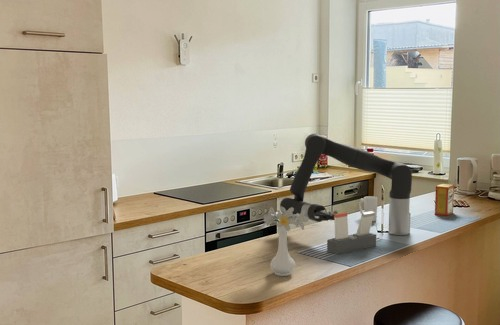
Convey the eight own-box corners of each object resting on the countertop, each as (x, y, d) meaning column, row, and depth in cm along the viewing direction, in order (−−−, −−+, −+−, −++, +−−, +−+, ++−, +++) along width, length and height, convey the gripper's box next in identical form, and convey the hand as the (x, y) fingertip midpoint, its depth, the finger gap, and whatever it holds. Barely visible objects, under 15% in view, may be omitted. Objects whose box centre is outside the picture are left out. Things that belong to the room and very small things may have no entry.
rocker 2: (366, 232, 249) (372, 210, 245) (368, 234, 248) (374, 212, 244) (356, 234, 246) (362, 212, 242) (358, 236, 245) (364, 214, 241)
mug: (379, 219, 296) (379, 197, 295) (373, 222, 291) (373, 199, 289) (361, 217, 302) (362, 195, 301) (355, 219, 297) (356, 197, 296)
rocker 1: (345, 236, 243) (344, 212, 242) (348, 237, 241) (347, 212, 241) (335, 239, 239) (333, 214, 239) (337, 239, 238) (336, 214, 237)
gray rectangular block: (366, 242, 253) (366, 230, 253) (376, 245, 248) (376, 233, 248) (327, 251, 241) (327, 238, 240) (336, 254, 236) (337, 241, 235)
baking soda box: (446, 216, 304) (447, 186, 302) (434, 214, 308) (435, 185, 306) (452, 213, 311) (454, 184, 309) (441, 211, 315) (442, 183, 313)
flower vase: (312, 271, 214) (313, 206, 211) (279, 283, 202) (279, 214, 198) (286, 263, 224) (286, 201, 220) (253, 274, 211) (253, 208, 208)
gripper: (301, 205, 251) (327, 212, 237) (324, 201, 258) (351, 208, 244) (301, 222, 252) (327, 229, 237) (324, 218, 259) (351, 225, 245)
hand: (339, 218), depth 241 cm, fingers closed
